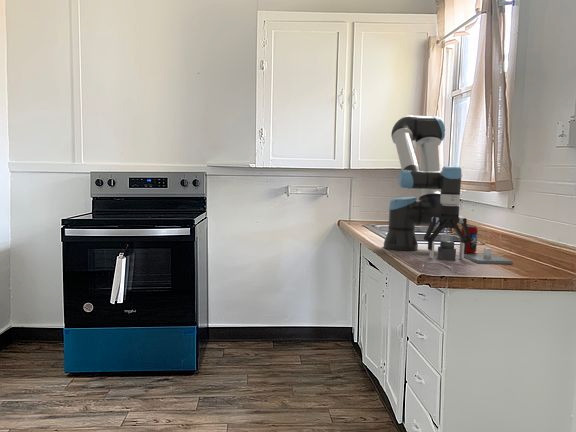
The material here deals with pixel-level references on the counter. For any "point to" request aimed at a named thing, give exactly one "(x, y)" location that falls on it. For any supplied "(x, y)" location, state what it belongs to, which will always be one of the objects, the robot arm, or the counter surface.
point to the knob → (446, 250)
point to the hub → (487, 258)
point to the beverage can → (473, 244)
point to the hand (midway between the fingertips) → (446, 258)
